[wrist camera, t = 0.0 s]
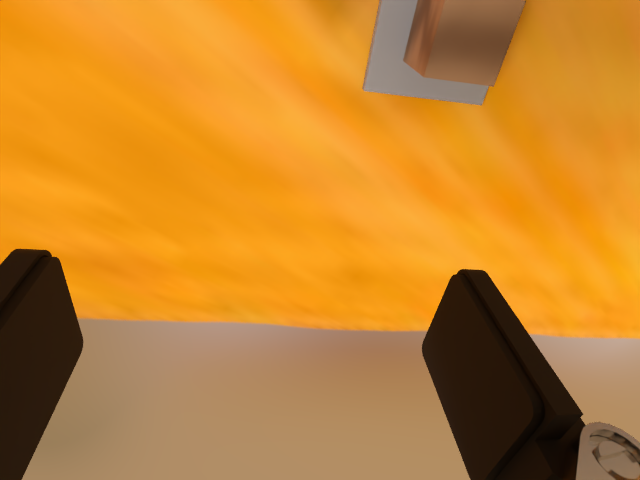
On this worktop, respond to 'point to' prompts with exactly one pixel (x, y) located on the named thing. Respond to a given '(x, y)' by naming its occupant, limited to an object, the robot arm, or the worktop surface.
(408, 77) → the build pad
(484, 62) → the walnut block
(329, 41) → the worktop surface
